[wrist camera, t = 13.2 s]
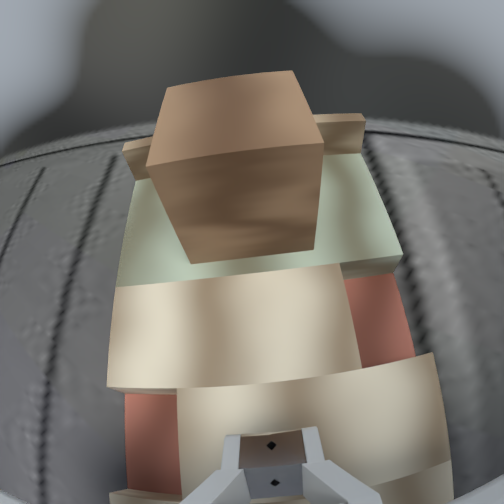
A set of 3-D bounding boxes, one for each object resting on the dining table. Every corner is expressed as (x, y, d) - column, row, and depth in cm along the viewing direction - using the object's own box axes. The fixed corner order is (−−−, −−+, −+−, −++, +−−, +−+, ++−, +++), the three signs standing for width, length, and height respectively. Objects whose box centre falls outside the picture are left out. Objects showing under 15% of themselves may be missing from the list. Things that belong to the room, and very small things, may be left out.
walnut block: (293, 166, 22) (292, 70, 15) (313, 249, 18) (324, 142, 11) (194, 179, 22) (167, 87, 16) (190, 264, 18) (145, 166, 12)
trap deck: (352, 168, 25) (361, 113, 20) (432, 585, 7) (471, 614, 2) (148, 193, 25) (125, 142, 21) (150, 611, 8) (112, 645, 3)
